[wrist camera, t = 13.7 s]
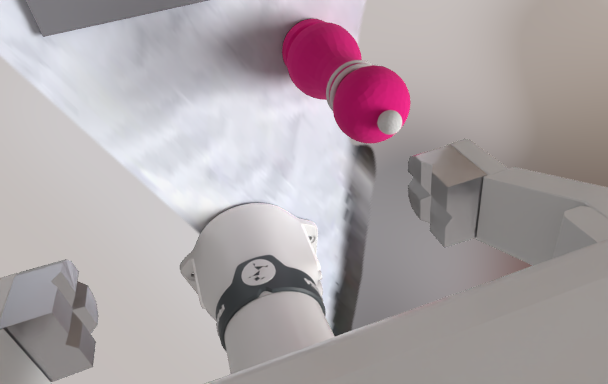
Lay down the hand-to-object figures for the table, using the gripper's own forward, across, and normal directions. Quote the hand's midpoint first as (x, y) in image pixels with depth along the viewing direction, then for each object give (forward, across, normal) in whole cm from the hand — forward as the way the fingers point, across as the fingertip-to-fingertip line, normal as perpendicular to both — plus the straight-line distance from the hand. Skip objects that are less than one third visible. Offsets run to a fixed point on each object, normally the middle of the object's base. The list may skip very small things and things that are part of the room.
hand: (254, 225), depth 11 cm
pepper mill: (+37, -12, +9) cm, 40 cm away
